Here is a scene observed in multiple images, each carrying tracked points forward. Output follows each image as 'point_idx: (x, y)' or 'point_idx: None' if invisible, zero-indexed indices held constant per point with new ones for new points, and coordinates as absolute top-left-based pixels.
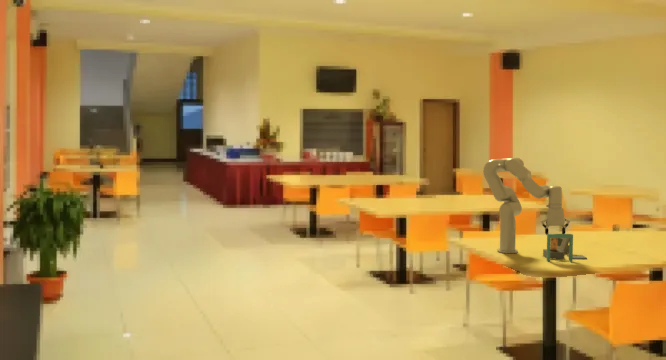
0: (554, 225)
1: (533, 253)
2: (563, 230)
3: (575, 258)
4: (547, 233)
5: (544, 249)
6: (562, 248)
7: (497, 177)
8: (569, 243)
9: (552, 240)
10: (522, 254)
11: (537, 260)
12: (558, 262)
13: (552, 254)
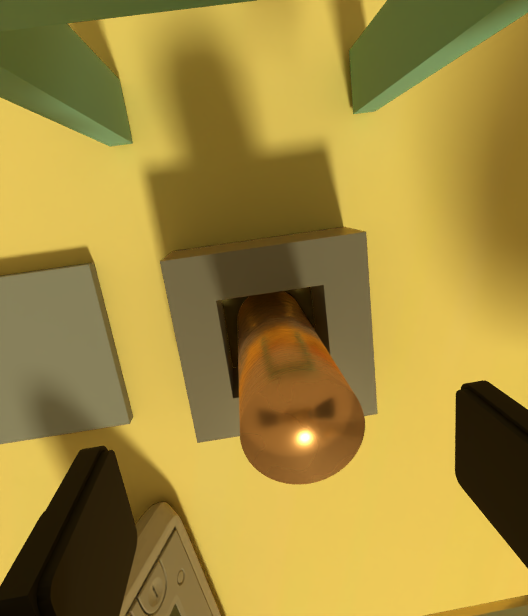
0: (474, 606)
1: (417, 474)
2: (69, 532)
3: (54, 269)
4: (504, 396)
5: (366, 407)
6: (158, 547)
7: None
8: (37, 72)
9: (329, 364)
10: None
11: (466, 104)
12: (260, 8)
13: (302, 238)
